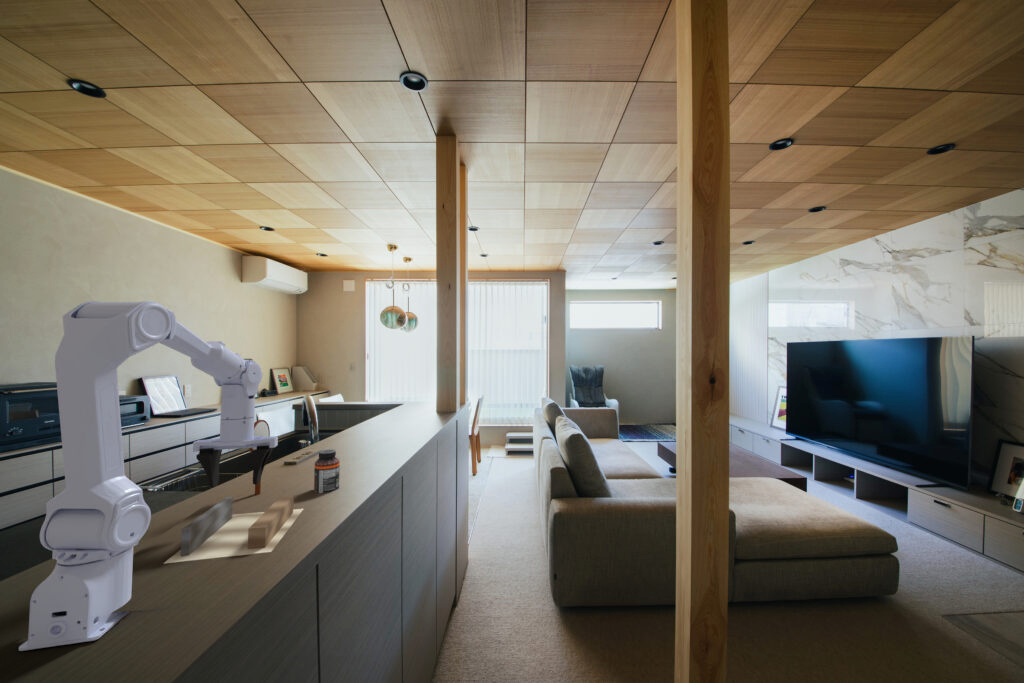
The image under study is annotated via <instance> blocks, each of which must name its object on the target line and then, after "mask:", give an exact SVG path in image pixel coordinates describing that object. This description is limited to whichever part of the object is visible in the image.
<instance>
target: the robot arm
mask: <svg viewBox="0 0 1024 683" xmlns="http://www.w3.org/2000/svg"><path fill="white" fill-rule="evenodd" d="M62 326H63V336H62V338H61V340H60V343H59V346H58V347H57V350H56V353H55V355H54V368H55V377H56V378H55V380H56V390H57V400H58V402H57V403H58V413H59V414H58V415H59V424H60V425H59V426H60V434H61V445H62V455H63V456H62V457H63V468H64V480H65V489H63V490H61V491H60V492H59V493H58V494H57V495H55V496H54V497H52V498H51V499H50V500H48V501H47V502H46V503H45V506H46V513H45V519H44V521H43V523H42V525H41V528H40V531H39V541H40V544H41V545H42V547H43V548H45V549H47V550H48V551H51V552H52V557H51V558H52V560H56V563H55V566H54V568H53V570H52V572H51V573H50V574H49V576H47V577H46V578H45V579H44V580H43V581H42V582H41V583H40V584H38V586H37V587H36V588H35V590H33V592H32V594H31V597H30V601H29V616H28V618H29V619H28V620H29V621H28V636H27V637H28V638H27V640H26V641H25V642H23V643H22V644H20V645H19V646H18V651H19V652H24V651H30V650H38V649H43V648H50V647H52V648H53V647H57V646H65V645H72V644H80V643H85V642H92V641H96V640H99V639H100V638H101V637H102V636H103V635H104V634H106V632H108V631H109V630H110V629H112V628H113V627H114V626H115V625H116V624H117V623H119V622H120V620H122V619H123V618H124V617H125V616H127V614H128V613H130V612H131V610H125V611H117V610H119V609H120V608H122V607H123V606H124V605H126V604H127V603H128V602H129V601H130V600H131V599H132V593H133V592H132V589H133V588H132V587H133V566H134V565H133V564H134V562H133V561H134V547H135V546H137V545H138V544H139V541H140V540H141V539H142V538H143V536H144V535H145V534H146V532H147V530H148V529H149V527H150V524H151V518H152V513H151V508H150V507H149V505H148V504H147V503H146V501H145V499H144V495H143V494H144V493H143V488H141V487H140V486H138V485H137V483H135V482H133V481H132V480H130V479H129V478H128V477H127V476H126V473H125V461H124V460H125V459H124V458H125V457H124V448H123V447H124V446H123V445H124V444H123V433H122V419H121V408H120V407H121V406H120V395H119V394H120V392H119V380H118V367H120V366H121V365H122V364H123V363H124V362H125V361H127V359H129V358H130V357H133V356H135V355H137V354H139V353H140V352H143V351H145V350H148V349H149V348H151V347H153V346H155V345H157V344H161V345H163V346H165V347H167V348H169V349H172V350H174V351H176V352H178V353H180V354H183V355H185V356H187V357H189V358H190V363H191V365H192V366H193V367H194V368H195V369H197V370H199V371H200V372H203V373H205V374H206V375H209V376H210V377H212V378H213V380H214V382H215V384H216V386H217V387H221V390H220V392H221V396H220V422H219V424H220V425H219V438H211V439H209V438H208V439H197V440H195V441H193V442H192V443H193V445H192V452H198V454H196V455H195V456H196V460H197V461H198V463H199V464H200V465H201V467H202V469H203V471H204V473H205V476H206V478H207V483H208V486H209V488H210V489H211V488H215V487H216V486H217V485H219V482H220V462H221V457H222V453H223V450H236V449H237V450H238V449H239V450H240V449H249V448H257V449H255V450H253V451H252V453H251V458H252V468H253V470H252V471H253V472H252V485H255V484H258V483H259V482H260V481H261V482H262V475H263V472H264V469H265V466H266V463H267V461H268V459H269V457H270V455H271V453H272V452H273V450H274V448H276V447H277V446H278V445H279V442H278V441H279V437H278V436H270V437H260V436H254V423H255V410H256V409H255V406H256V404H255V403H256V395H258V392H259V386H260V384H261V381H262V379H263V376H264V375H263V373H264V372H262V368H261V365H260V364H259V363H258V362H256V361H255V360H251V359H244V358H243V357H241V354H239V353H238V352H234V351H233V350H230V349H229V348H227V347H226V343H225V342H222V341H221V340H220V341H214V340H213V341H212V340H211V341H205V340H203V339H202V337H200V336H198V335H197V334H195V333H194V332H193V331H192V330H190V329H189V328H188V327H186V326H185V325H184V324H182V323H181V322H179V321H178V320H177V317H176V314H175V312H174V311H172V310H170V309H168V308H166V307H165V306H164V305H162V303H159V302H157V301H153V300H144V301H98V300H92V301H91V300H90V301H85V302H82V303H80V304H78V305H76V306H75V307H74V308H72V309H70V310H69V311H67V312H66V313H65V314H63V315H62ZM115 611H117V612H115Z"/></svg>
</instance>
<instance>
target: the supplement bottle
mask: <svg viewBox="0 0 1024 683" xmlns="http://www.w3.org/2000/svg"><path fill="white" fill-rule="evenodd" d="M313 472H314V473H313V474H314V478H313V479H314V481H313V491H314V493H318V494H325V493H332V492H334V491H337V490H339V489H340V459H339V458H338V457H337V452H336V450H335V449H323V450H320V451H318V459H317V460H316V461H315V462H314V470H313Z"/></svg>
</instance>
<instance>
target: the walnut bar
mask: <svg viewBox="0 0 1024 683" xmlns="http://www.w3.org/2000/svg"><path fill="white" fill-rule="evenodd" d="M294 501H295V500H294V495H293V496H291V495H290V496H289V495H288V496H279V497H277V499H276V500H275V501H274V502H273V503H272V504H271V505H270V506H269V507H268V508H267V509H266V510H265V511H263V512H264V513H263V514H262V516H261V517H260V518H259V519H258V520H257V521H256V522H255V523H254V524H253V525H252V526H251V527H250V528H249V529H248V549H255V548H264V547H266V546H267V545H268V543H269V542H270V541H271V540H272V539H273V537H274V536H275V535H276V534H277V532H278V531H279V530H280V529H281V527H282V526H283V525H284V524H285V522H286V521H287V520H288V519H289V517H290V516H291V515H292V514H293V509H294Z"/></svg>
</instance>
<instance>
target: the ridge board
mask: <svg viewBox="0 0 1024 683" xmlns="http://www.w3.org/2000/svg"><path fill="white" fill-rule="evenodd" d="M233 503H234V496H225V497H224V498H223V499H221V500H220V501H219V502H218V503H216V504H214V506H212V507H211V508H209V509H208V510H207V511H204V513H202V514H201V515H199V516H198V517H197V518H195V519H194V520H193V521H191V522H190V523H189V524H188V525H186V526H185V527H183V528H182V529H181V533H180V534H181V536H180V537H181V538H180V540H181V541H180V549H179V550H178V551H177V552H175V554H173V555H172V556H171V557H169V558H168V559H167V560H166V561H165V562H163V564H164V565H165V564H171V563H172V564H173V563H180V562H181V563H182V562H191V561H201V560H210V559H219V558H227V557H228V558H229V557H236V556H237V557H238V556H246V555H256V554H265V553H272V551H274V549H275V548H276V547H277V545H278V544H279V543H280V541H281V539H282V538H283V537H284V536H285V534H286V533H287V532H288V530H289V529H290V528H291V526H292V525H293V524H294V522H296V520H297V518H298V517H299V516H300V515H301V514H302V512H303V511H304V508H296V509H295V508H293V514H292V515H291V516H290V517H289V519H288V520H287V521H286V522H285V524H284V525H283V526H282V527H281V529H280V530H279V531H278V532H277V534H276V535H275V536H274V537H273V539H272V540H271V541H270V542H269V543H268V545H267V546H266V547H264V548H255V549H248V529H249V528H250V527H251V526H252V525H253V524H254V523H255V522H256V521H257V520H258V519H259V518H260V517H261V516H262V514H263V513H264V512H265V511H258V512H247V513H246V512H245V513H235V514H234V513H233V511H234V508H233V506H234V504H233Z"/></svg>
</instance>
